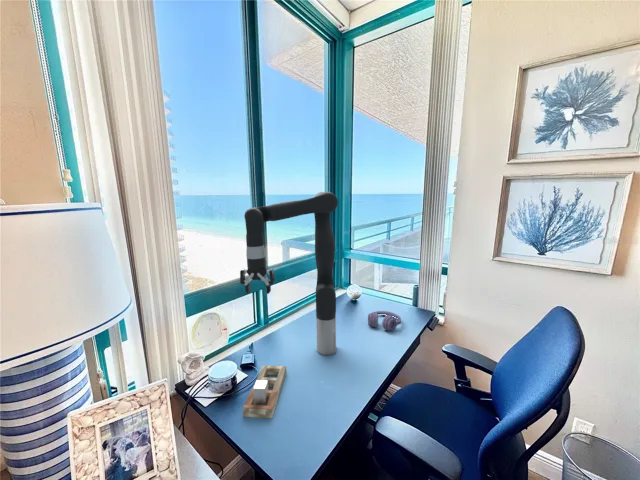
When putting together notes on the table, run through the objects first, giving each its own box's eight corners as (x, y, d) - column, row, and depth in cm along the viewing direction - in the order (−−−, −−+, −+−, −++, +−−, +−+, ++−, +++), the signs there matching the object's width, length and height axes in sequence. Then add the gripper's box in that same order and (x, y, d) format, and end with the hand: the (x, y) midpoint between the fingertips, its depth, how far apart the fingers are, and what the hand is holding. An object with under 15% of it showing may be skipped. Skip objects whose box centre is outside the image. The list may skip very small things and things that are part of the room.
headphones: (395, 334, 136) (403, 324, 154) (396, 319, 136) (404, 310, 153) (362, 326, 145) (373, 317, 163) (363, 312, 145) (374, 304, 163)
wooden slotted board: (286, 372, 110) (286, 365, 109) (272, 418, 87) (271, 409, 86) (263, 371, 110) (263, 364, 110) (243, 416, 88) (242, 408, 87)
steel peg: (269, 402, 94) (267, 380, 92) (266, 411, 90) (264, 388, 88) (258, 402, 94) (256, 380, 92) (254, 411, 90) (253, 388, 88)
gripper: (275, 254, 111) (276, 290, 114) (242, 254, 112) (245, 289, 115) (270, 258, 104) (272, 296, 106) (235, 258, 105) (238, 296, 107)
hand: (258, 293), depth 110 cm, fingers open, 8 cm apart
